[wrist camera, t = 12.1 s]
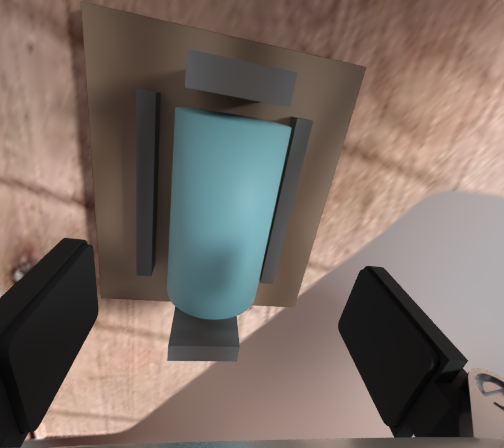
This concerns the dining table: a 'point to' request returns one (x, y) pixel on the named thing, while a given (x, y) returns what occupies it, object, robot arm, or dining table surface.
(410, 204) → the dining table surface
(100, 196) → the roll holder
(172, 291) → the light blue cylinder
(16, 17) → the dining table surface
